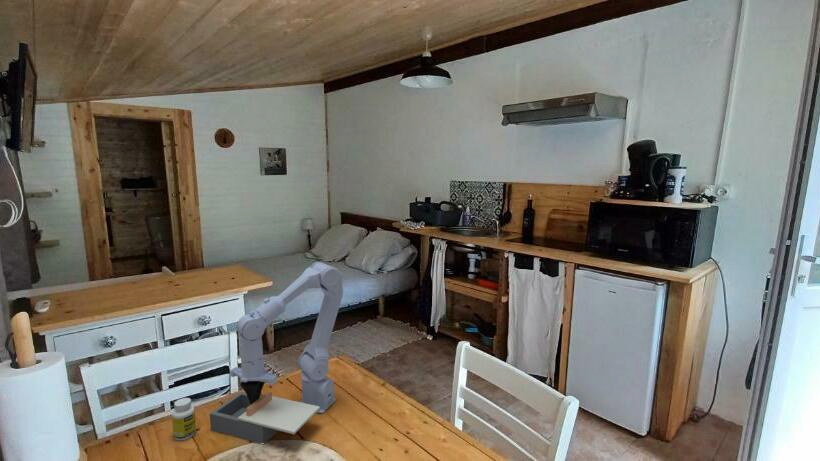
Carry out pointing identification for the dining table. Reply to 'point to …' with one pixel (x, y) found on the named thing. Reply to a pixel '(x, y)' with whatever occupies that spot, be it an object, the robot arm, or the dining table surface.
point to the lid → (278, 413)
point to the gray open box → (238, 421)
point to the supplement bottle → (183, 419)
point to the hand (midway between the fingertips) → (254, 403)
